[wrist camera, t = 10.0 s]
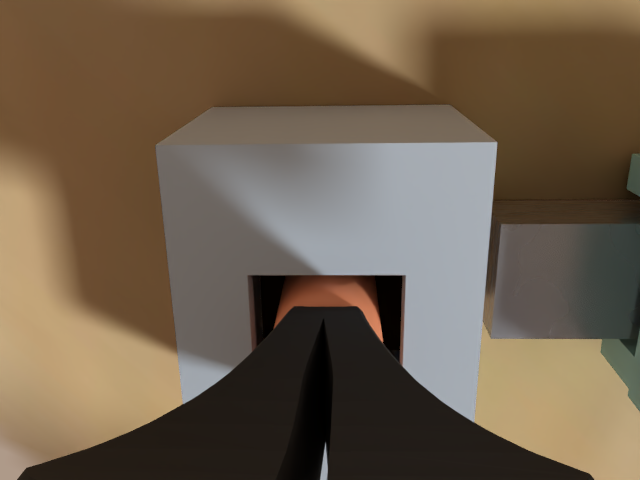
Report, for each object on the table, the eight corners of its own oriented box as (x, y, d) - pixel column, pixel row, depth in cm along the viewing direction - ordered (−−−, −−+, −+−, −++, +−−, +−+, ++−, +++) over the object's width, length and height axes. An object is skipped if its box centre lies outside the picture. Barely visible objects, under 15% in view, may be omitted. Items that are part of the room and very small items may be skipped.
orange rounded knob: (373, 312, 16) (382, 403, 12) (288, 312, 16) (271, 403, 12) (374, 232, 15) (385, 302, 11) (285, 232, 15) (266, 302, 11)
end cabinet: (434, 380, 18) (466, 508, 13) (232, 378, 18) (193, 504, 14) (449, 104, 15) (497, 141, 11) (211, 106, 16) (155, 145, 11)
